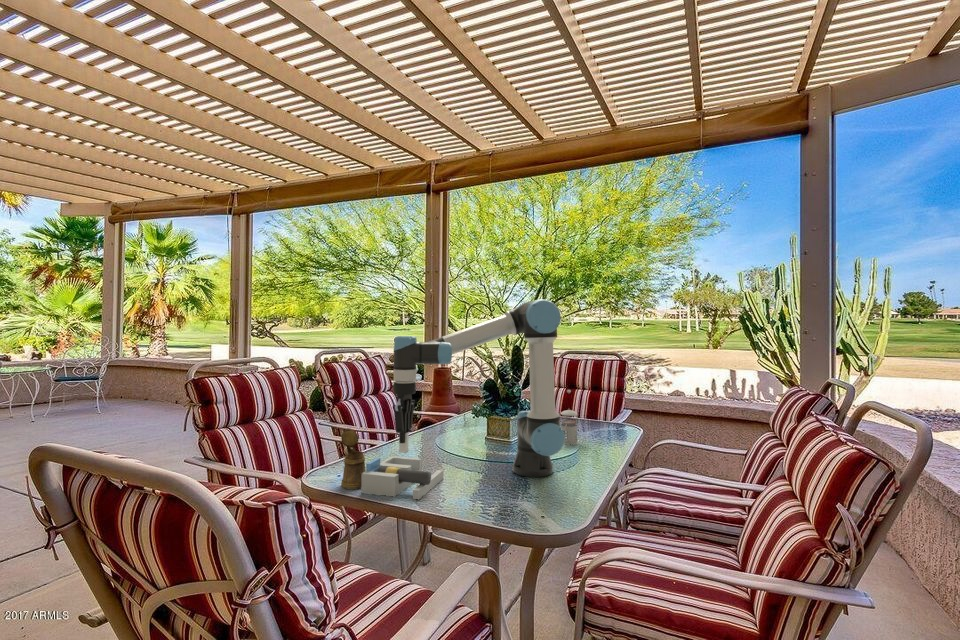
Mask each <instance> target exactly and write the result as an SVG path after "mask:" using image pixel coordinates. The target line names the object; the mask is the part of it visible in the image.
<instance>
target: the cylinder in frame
mask: <svg viewBox="0 0 960 640" xmlns="http://www.w3.org/2000/svg"><path fill="white" fill-rule="evenodd" d="M422 460H423V459H422V458H419V457H407V456H396V455H392V456H390V457H388V458H387V459H385V460H383V461H381V457H375V458H374V459H372V460H369V461H368V462H366V463H365V469H366V471H365V472H363V473H362V486H361V488H360V491H361V494H363V493H369V494H368V495H372V494H376V495H375V496H380V495H386V496H385V497H389V496H393V497H392V498H395V497H396V495H397V494H398V495H400V494H401V493H402V492H403V491H404V490H406V489H407V488H408V487H410V486H411V485H412V484H413V483H410V482H402V481H399V474H392V473H382V472H377V471H378V468H379V467H380V466H382V467H396V468H401V469H407V470H416V471H423V467H422V466H423V462H422ZM443 480H444V470H443V469H438V470H436V471H435V472H433V473H431V481H430V484H429V485H425V484H418V485H417V486H416V487H415V488H414V489H412V500H415V499H418V500H417V501H420V499H421V498H423V497H424V496H425V495H426V494H427V493H429V492H430V491H431V490H432V489H433V488H434V487H435V486H437V483H438V484H439V483H440V482H441V481H443ZM409 485H410V486H409ZM405 488H406V489H405ZM430 489H431V490H430ZM429 490H430V491H429ZM401 491H402V492H401ZM400 492H401V493H400ZM398 495H397V496H398ZM423 495H424V496H423ZM422 496H423V497H422Z"/></svg>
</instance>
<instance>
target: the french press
mask: <svg viewBox="0 0 960 640" xmlns="http://www.w3.org/2000/svg"><path fill="white" fill-rule="evenodd" d="M566 393H572V390H571V389H567V390H566ZM560 414H561V415H562V416H561V415H560V416H561V417H562V418H561V423H560V427H561V429H562V430H563V432H564V436H565V441H564V445H565V444H568V446H575V445H579V444H580V441H579V440H578V425H577V422H578V421H575V420H569V419H568V418H569V417H576V416H578V415H579V414H578V412H576V411H574V410H572V409H567V410H563V411H561V412H560ZM563 418H564V420H563ZM567 419H568V420H567ZM570 444H571V445H570ZM572 444H573V445H572Z"/></svg>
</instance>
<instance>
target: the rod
mask: <svg viewBox="0 0 960 640" xmlns="http://www.w3.org/2000/svg"><path fill="white" fill-rule="evenodd" d="M377 472H382V473H392V474H399V481H402V482H410V483H412V484H418V485H420V484H425V485H429V484H430V481H431V475H432V473H431V472H430V471H424V470H422V471H416V470H407V469H401V468H396V467H382V466H380V467H379V468H378V471H377Z"/></svg>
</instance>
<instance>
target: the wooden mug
mask: <svg viewBox="0 0 960 640" xmlns="http://www.w3.org/2000/svg"><path fill="white" fill-rule="evenodd" d="M340 440H341V443H342V445H344V446H345V447H346V449H347V451H346V452H345V456H344V459H343V463H344V465H343V466H344V467H343V474H342V475H343V476H342V479H341V482H340V484H341V485H340V486H341V487H342V488H343V489H345V488H346V490H358V488H360V489H361V486H362V473H363V472H365V471H366V463H365V460H366V458H365V457H366V456H365V455H364V451H356V447H355V446H356V445H357V444H358V443H359V435H358V433H357V432H356V431H355V430H353V429H351V428H347V429H345V430H343V432H342V434H341V439H340Z"/></svg>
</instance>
